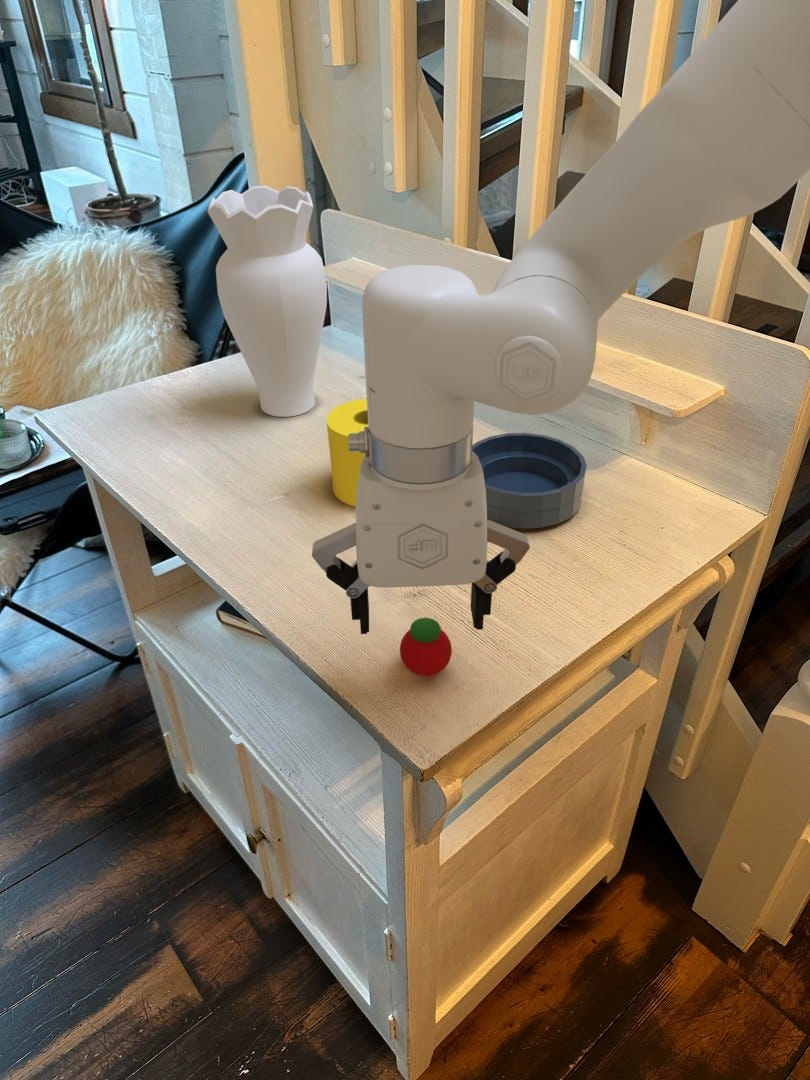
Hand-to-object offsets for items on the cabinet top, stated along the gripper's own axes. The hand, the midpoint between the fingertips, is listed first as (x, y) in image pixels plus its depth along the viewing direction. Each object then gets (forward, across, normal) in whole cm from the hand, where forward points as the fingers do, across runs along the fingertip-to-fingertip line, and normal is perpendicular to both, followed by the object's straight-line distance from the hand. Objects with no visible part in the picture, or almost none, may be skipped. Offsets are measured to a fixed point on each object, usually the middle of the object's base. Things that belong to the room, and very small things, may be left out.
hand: (420, 620), depth 65 cm
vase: (+6, -17, +55) cm, 58 cm away
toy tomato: (+6, 0, 0) cm, 6 cm away
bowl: (+6, +14, +27) cm, 31 cm away
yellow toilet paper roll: (+6, -4, +31) cm, 32 cm away
